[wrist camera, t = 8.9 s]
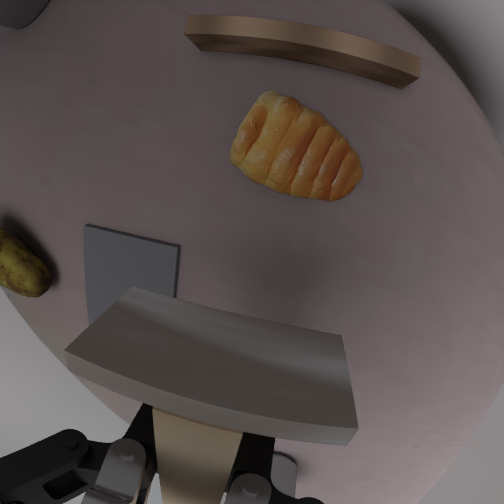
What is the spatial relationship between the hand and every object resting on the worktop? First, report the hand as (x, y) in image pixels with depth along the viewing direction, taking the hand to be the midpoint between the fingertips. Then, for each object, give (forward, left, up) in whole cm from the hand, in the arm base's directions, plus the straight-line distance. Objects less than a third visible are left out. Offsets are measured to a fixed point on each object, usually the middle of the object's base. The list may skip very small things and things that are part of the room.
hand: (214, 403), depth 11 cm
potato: (-28, -4, -15) cm, 32 cm away
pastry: (+1, +11, -15) cm, 18 cm away
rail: (0, +18, -14) cm, 23 cm away
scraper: (0, -2, -1) cm, 2 cm away
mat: (-12, -7, -14) cm, 20 cm away
